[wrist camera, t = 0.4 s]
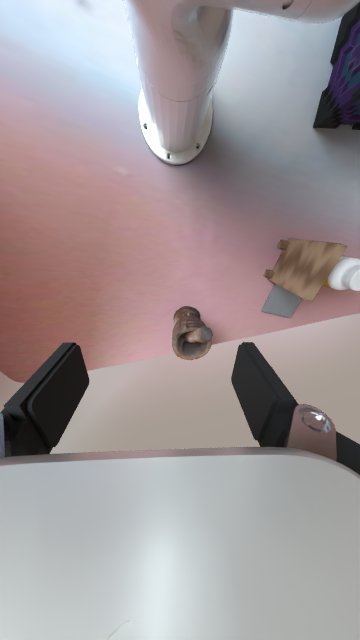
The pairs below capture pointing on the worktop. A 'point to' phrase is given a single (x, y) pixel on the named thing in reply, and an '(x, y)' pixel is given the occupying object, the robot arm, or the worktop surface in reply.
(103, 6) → the worktop surface
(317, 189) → the worktop surface
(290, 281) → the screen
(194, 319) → the mortar and pestle
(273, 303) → the coaster
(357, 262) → the supplement bottle
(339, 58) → the energy cube
